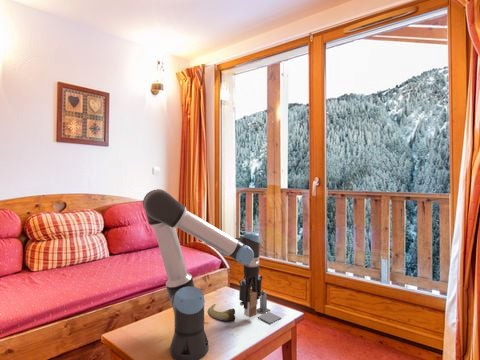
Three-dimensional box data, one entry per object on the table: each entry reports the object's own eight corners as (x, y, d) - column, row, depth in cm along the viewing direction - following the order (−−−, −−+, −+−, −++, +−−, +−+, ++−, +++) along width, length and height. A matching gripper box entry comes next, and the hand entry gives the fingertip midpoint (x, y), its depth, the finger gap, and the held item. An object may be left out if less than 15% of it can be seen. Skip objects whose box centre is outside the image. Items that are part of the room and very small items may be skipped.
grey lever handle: (244, 322, 140) (244, 301, 140) (237, 318, 144) (237, 297, 143) (270, 310, 152) (270, 291, 152) (263, 307, 156) (263, 288, 155)
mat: (270, 324, 138) (270, 323, 138) (257, 317, 144) (257, 316, 144) (281, 318, 144) (281, 317, 144) (269, 312, 150) (269, 311, 150)
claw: (242, 317, 145) (242, 310, 145) (228, 326, 138) (228, 318, 138) (214, 306, 158) (214, 300, 158) (200, 313, 150) (199, 307, 150)
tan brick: (256, 314, 142) (256, 292, 142) (250, 317, 139) (250, 294, 139) (245, 309, 148) (245, 287, 147) (239, 311, 145) (239, 289, 145)
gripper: (243, 270, 133) (242, 322, 133) (269, 263, 144) (268, 311, 145) (232, 266, 139) (231, 315, 139) (258, 259, 150) (257, 305, 150)
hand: (250, 313), depth 142 cm, fingers closed on tan brick, 4 cm apart
